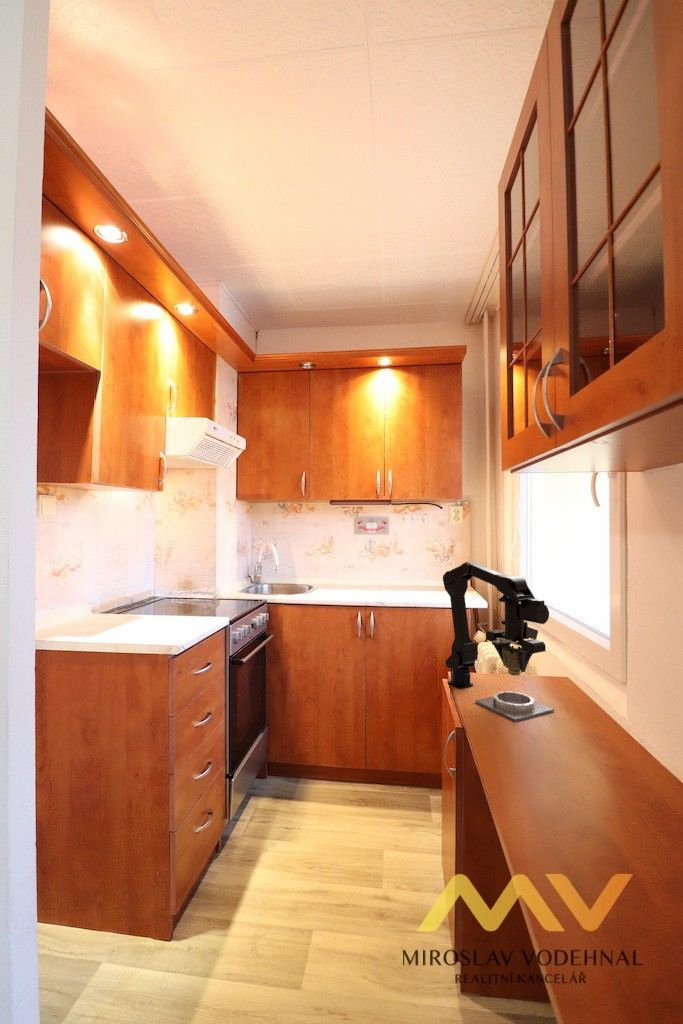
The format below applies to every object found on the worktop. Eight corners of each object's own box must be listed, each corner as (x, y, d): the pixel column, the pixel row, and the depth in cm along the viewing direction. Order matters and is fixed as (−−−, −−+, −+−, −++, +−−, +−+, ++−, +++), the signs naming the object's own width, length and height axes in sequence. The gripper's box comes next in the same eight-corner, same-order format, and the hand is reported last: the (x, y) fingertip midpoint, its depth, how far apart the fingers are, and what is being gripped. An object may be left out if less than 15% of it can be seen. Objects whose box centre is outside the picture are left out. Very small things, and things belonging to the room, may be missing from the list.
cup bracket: (475, 702, 150) (475, 693, 150) (512, 694, 157) (512, 685, 157) (515, 722, 135) (515, 712, 135) (553, 711, 143) (553, 702, 143)
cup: (529, 673, 148) (529, 647, 148) (524, 679, 142) (524, 652, 142) (504, 669, 152) (504, 643, 152) (499, 675, 145) (499, 649, 146)
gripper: (558, 621, 143) (558, 673, 142) (509, 610, 159) (509, 657, 159) (532, 624, 137) (532, 679, 137) (484, 613, 154) (484, 662, 153)
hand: (514, 668), depth 147 cm, fingers closed on cup, 6 cm apart
